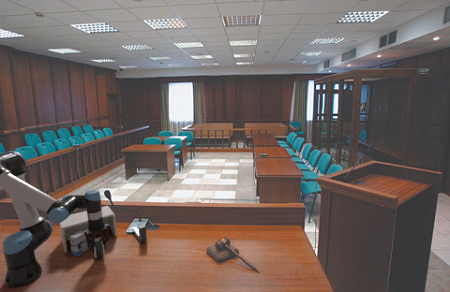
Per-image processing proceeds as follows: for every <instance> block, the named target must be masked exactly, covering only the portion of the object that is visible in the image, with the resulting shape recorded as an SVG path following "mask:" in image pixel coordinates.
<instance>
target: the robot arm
mask: <svg viewBox="0 0 450 292" xmlns="http://www.w3.org/2000/svg"><path fill="white" fill-rule="evenodd" d="M27 165H28V162H27V159H26V157H25V156H24V154H22V153H21V152H18V151H16V150H10V151H3V152H1V153H0V189H1V190H3V191H5V192H6V193H7V194H8V196H9V198H10V201H11V203H12V206H13V208H14V209H15V212H16V215H17V216H18V219H19V221H20V225H19V226H18V229H19V231H16V232H15V233H12V234H10V235H8V236H7V237H6V238H5V239H4V241H3V243H2V251H3V254H4V260H5V264H6V273H5V278H4V284H5V287H7V288H12V289H13V288H14V289H15V288H20V287H23V286H27V285H28V284H30V283H32V282H35V280H37V279H39V277H40V276H41V275H42V273H43V268H42V266H41V264H40V263H39V261H38V260H37V258H36V252H35V251H36V250H37V249H39V247H40V246H42V245H43V244H44V243H45V242H47V241H48V240H49V238H50V237H51V236H52V235H53V231H54V229H53V228H54V227H53V224H60V223H61V222H62V221H64V220H65V219H67V218H68V217H69V216H70V215H72V214H74V213H75V211H77V210H82V209H83V210H85V209H86V211H87V217H88V226H89V227H88V229H87V230H86V231H83V233H84V235H85V237H86V242H87V246H88V248H89V249H91V253H93V254H94V258H95V259H97V255H96V247H95V245H94V242H95V236H96V234H99V236H100V237H101V239H102V246H103V255H105V254H106V253H105V249H106V248H107V246H106V245H107V243H109V241H110V240H109V239H110V237H109V235H110V234H109V233H110V232H109V229H110V228H109V225H108V224H107V225H105V224H104V223H103V217H102V208H101V207H102V197H101V193H100V191H99V190H98V189H92V190H91V189H90V190H87V191H85V193H84V194H70V195H65V196H63V197H62V198H61V200H60V201H59V200H58V199H56V198H54V197H53V196H51V195H49V194H47V193H46V192H44V191H42V190H40V189H38V187H37V188H36V187H35V186H33V185H31V184H29V183H28V182H26V179H25V175H26V174H27V172H26V169H25V168H26V166H27ZM38 210H39V211H42V212H43V213H44V214H47V216H48V220H49V221H48V220H47V219H45V218H44V217H43V216H42V215H40V214H39V211H38ZM52 223H53V224H52ZM104 227H105V229H103V228H104ZM103 230H104V233H105V236H104V234H103ZM89 231H90V232H91V233H90V234H91V237H92V238H91V237H89V234H88V232H89ZM89 238H91V244H90V242H89Z"/></svg>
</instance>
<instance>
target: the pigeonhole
mask: <svg viewBox="0 0 450 292" xmlns="http://www.w3.org/2000/svg"><path fill="white" fill-rule="evenodd" d="M101 208H102V217H103V223H104V224H105V225H107V224H108V225H109V229H110V231H111V232H112V234H113V235H114V237H115V238H116V237H118V232H117V231H118V230H117V229H118V228H117V219H116V215H115V213H114V212H113V210H112V208H110V206H109V205H105V206H101ZM88 227H89V226H88V217H87V210H86V211H85V210H84V211H81V212H76V213H72V214H71V215H70V216H69V217H68V218H67V219H65V220H64V221H62V222H61V223H59V229H60V235H61V242H62V246H63V251H64V253H68V247H67V241H68V240H69V241H70V236H72V235H73V234H75V233H77V232H79V231H81V230H83V231H86V230H87V229H88ZM103 230H105V227H104V228H103ZM90 234H92V233H91V232H90V231H89V232H88V235H90Z"/></svg>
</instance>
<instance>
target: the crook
mask: <svg viewBox="0 0 450 292" xmlns="http://www.w3.org/2000/svg"><path fill="white" fill-rule="evenodd" d="M91 238H92V236H91V237H89V242H90V244H91ZM102 242H103V241H102V239H101V236H100V237H97V236H96V235H95V242H94V245H95V247H96V255H97V258H96V260H99V259H102V258H104V255H103V246H102Z"/></svg>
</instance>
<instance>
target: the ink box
mask: <svg viewBox="0 0 450 292" xmlns="http://www.w3.org/2000/svg"><path fill="white" fill-rule="evenodd" d="M69 243H70V251H71V255H73V256H76V257H79V256H81V255H82V254H83V253H85V252H86V251H88V250H89V249H90V248H88V246H87V242H86V237H85V235H84V233H83V230H81V231H79V232H77V233H75V234H73V235H72V236H70V239H69Z"/></svg>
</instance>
